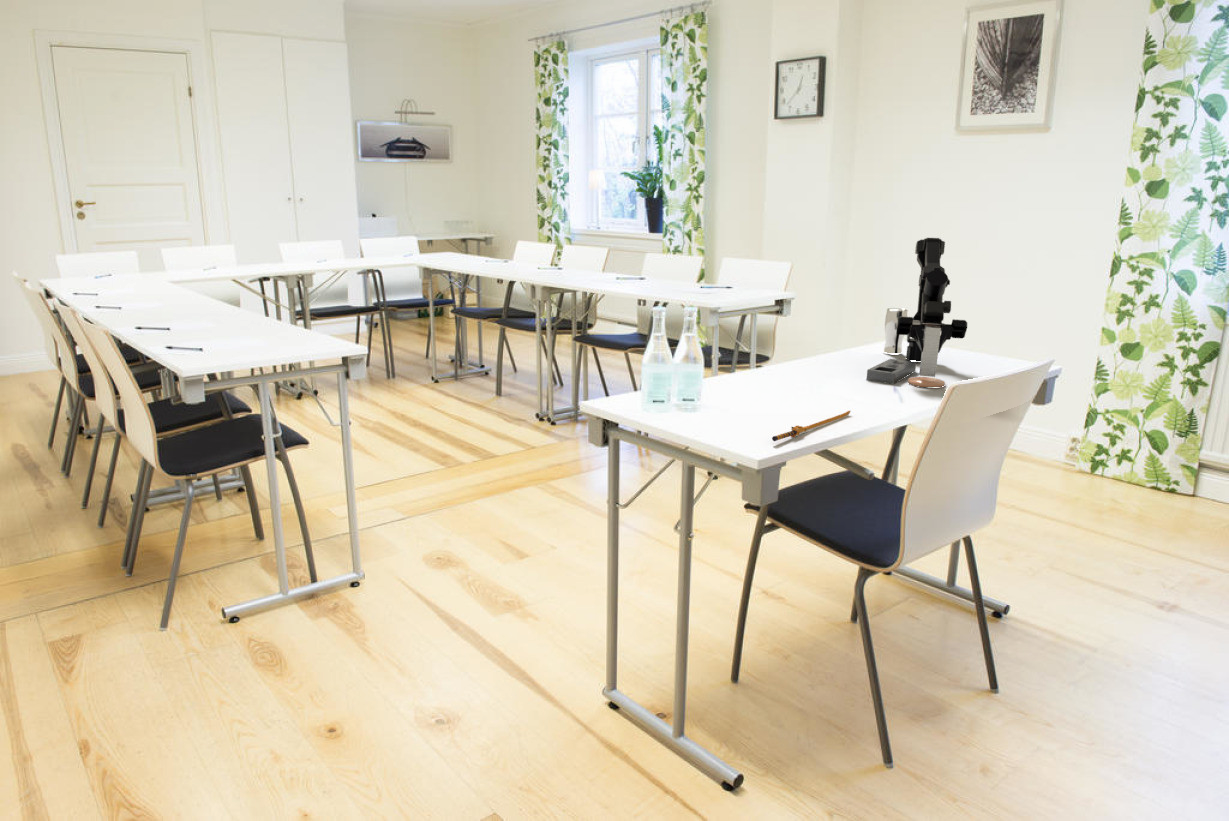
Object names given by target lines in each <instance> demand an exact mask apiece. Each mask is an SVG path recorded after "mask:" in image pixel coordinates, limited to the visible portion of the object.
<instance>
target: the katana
mask: <svg viewBox="0 0 1229 821" xmlns="http://www.w3.org/2000/svg"><path fill="white" fill-rule="evenodd" d="M850 413H851V410H847V411H846V412H844V413H843V412H842V413H840V414H838V415H835V416H832V417H830V418H827V419H824V420H821V421H818V422H815V423H813V424H809V425H806V426H800V425H795V426H791V428H790V431H787V432H784V433H780V434H778V435H774V436H772V437H771V439H772V441H773V442H776V441H780V440H783V439H786V438H788V437H790V438H792V437H795V436H796V437H799V436H801V435H803V434H807V432H809V431H810V432H811V431H812V430H815V429H818V428H821V427H823V426H825V425H826V426H827V425H829V424H831V423H834V422H836V421H839V420H841V419H844V418H846V417H848V416H849V415H850ZM798 435H799V436H798ZM796 437H795V438H796Z"/></svg>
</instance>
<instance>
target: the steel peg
mask: <svg viewBox="0 0 1229 821" xmlns="http://www.w3.org/2000/svg"><path fill="white" fill-rule="evenodd" d="M940 335H941V327H940V326H932V325H925V329H924V338H923V344H924V346H923V352H922V355H921V363H920V364H919V377H929V378H935V377H936V373H937V367H938V366H937V365H938V357H939V356H938V355H939V353H938V349H939V341H940Z"/></svg>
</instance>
